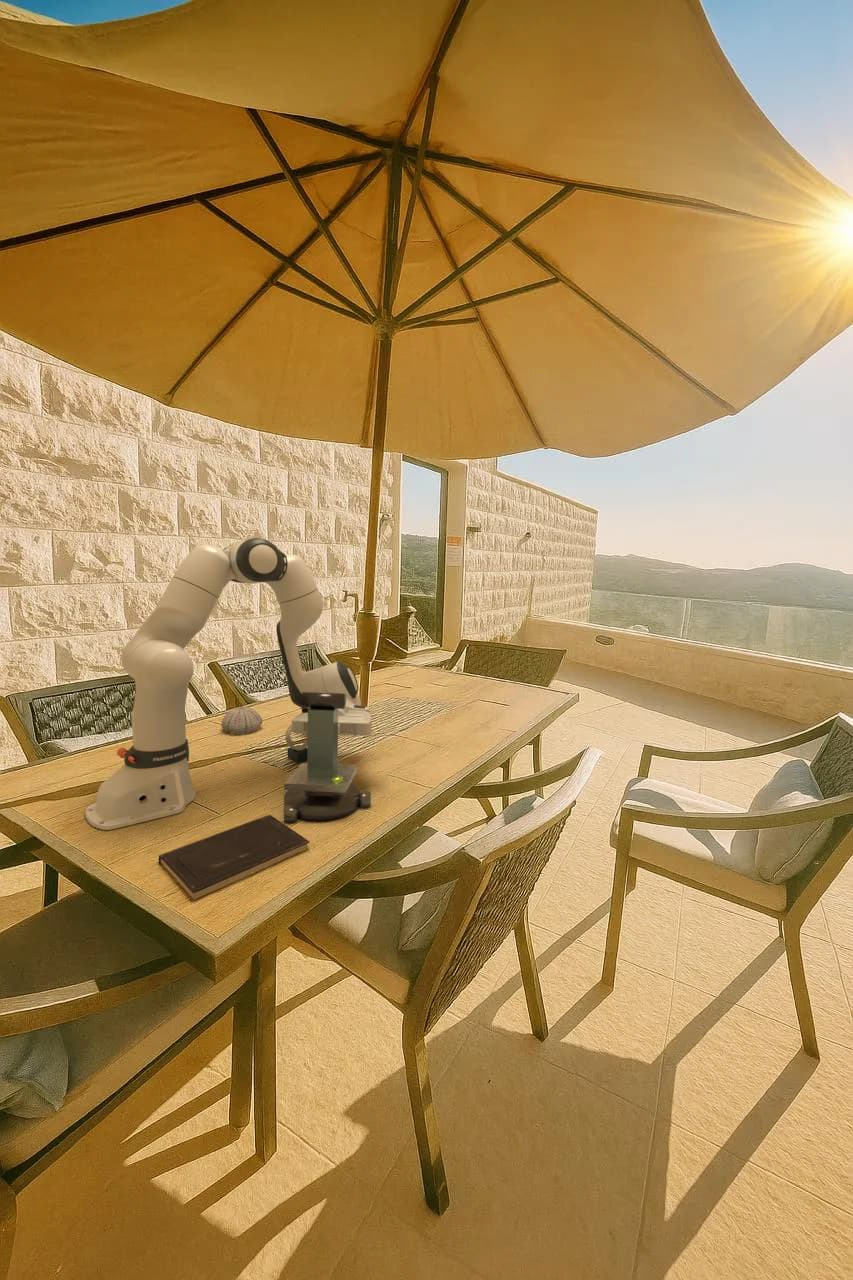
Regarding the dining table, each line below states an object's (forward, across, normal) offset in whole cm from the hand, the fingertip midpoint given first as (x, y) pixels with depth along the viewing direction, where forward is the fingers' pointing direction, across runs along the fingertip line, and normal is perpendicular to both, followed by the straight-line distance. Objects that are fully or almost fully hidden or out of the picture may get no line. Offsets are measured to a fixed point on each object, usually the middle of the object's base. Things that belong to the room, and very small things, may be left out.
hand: (325, 734), depth 122 cm
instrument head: (+3, 0, +10) cm, 11 cm away
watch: (-24, -14, +16) cm, 32 cm away
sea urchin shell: (-48, -40, +16) cm, 65 cm away
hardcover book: (+26, -12, +17) cm, 33 cm away
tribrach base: (+3, +1, +16) cm, 17 cm away
